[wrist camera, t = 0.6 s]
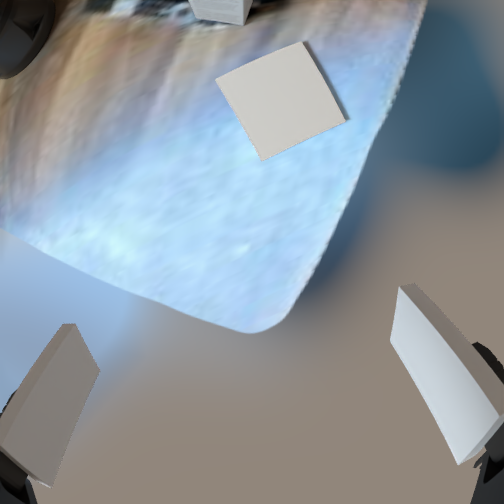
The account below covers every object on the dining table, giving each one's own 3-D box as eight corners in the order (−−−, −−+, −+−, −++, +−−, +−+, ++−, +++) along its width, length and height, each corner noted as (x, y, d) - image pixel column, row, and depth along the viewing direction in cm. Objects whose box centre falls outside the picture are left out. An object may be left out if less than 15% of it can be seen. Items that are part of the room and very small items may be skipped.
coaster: (215, 80, 28) (214, 79, 27) (299, 43, 27) (301, 41, 26) (261, 161, 32) (261, 161, 31) (343, 121, 30) (345, 121, 30)
